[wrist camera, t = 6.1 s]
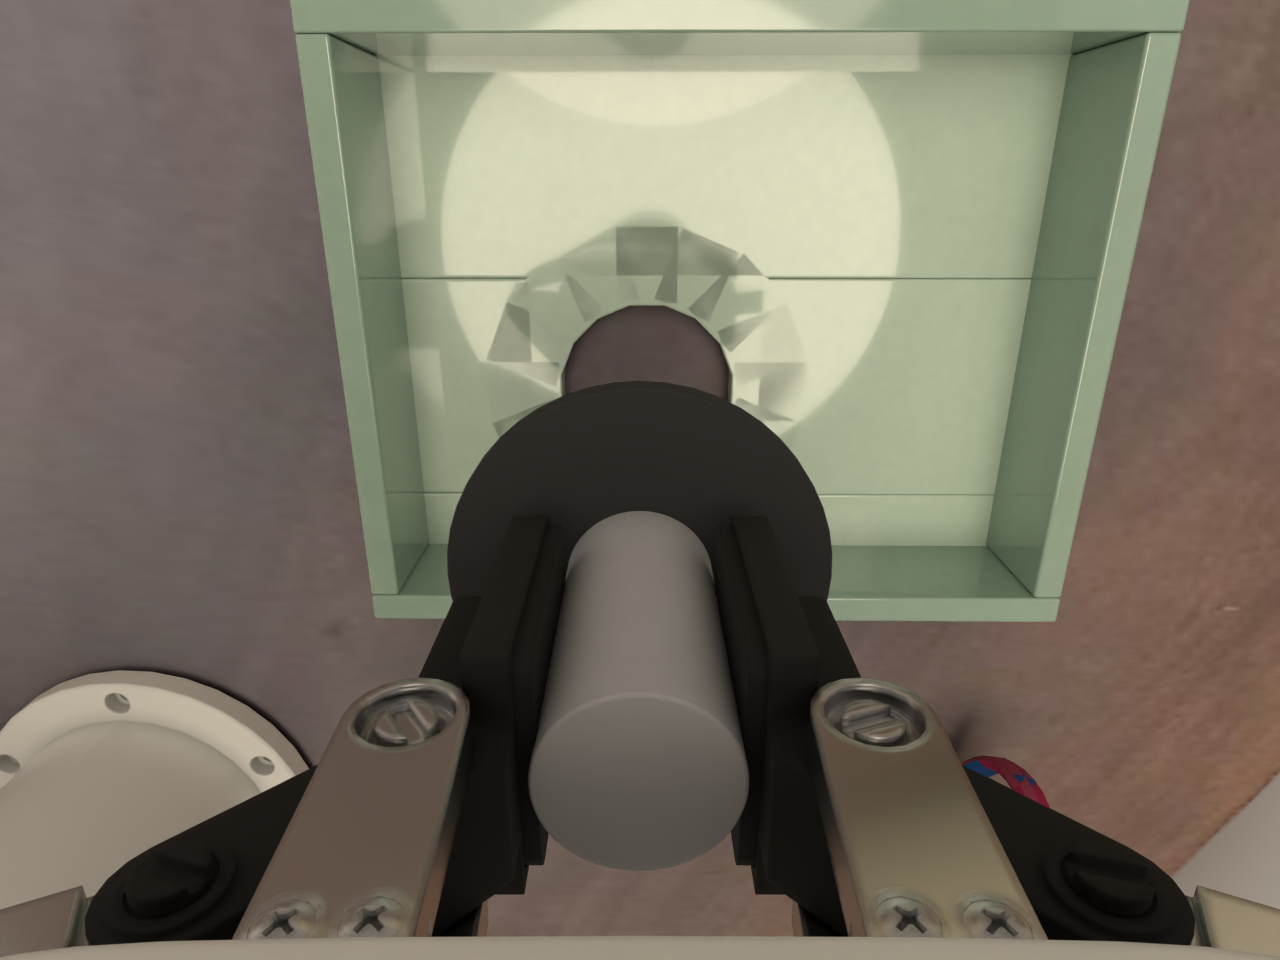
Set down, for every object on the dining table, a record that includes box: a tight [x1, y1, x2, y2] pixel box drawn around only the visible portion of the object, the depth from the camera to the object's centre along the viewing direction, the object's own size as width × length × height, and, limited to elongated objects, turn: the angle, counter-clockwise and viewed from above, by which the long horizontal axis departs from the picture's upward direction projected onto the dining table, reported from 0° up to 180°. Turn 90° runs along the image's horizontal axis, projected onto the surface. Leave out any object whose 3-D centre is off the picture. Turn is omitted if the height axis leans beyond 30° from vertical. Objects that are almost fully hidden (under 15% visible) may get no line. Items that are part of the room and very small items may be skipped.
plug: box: [447, 381, 832, 871], centre depth 11 cm, size 6×6×6 cm
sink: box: [290, 0, 1190, 622], centre depth 22 cm, size 16×20×4 cm
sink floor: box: [377, 55, 1072, 546], centre depth 24 cm, size 16×20×1 cm
